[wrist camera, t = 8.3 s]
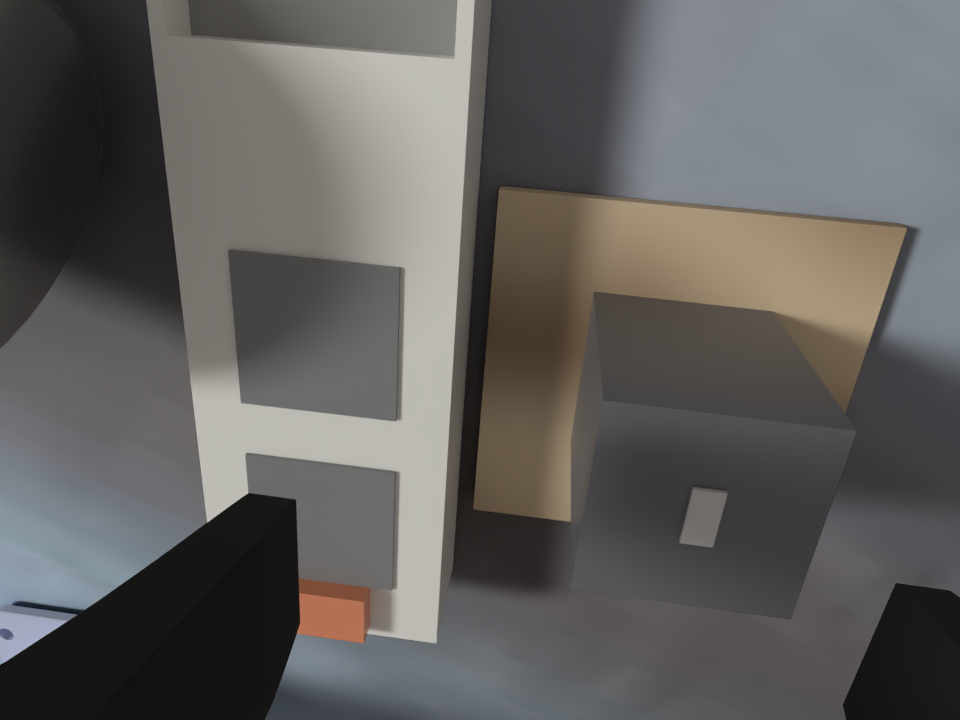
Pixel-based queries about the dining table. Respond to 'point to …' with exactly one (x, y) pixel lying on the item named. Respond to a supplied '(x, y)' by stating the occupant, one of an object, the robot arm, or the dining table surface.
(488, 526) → the dining table surface
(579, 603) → the dining table surface
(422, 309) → the socket strip
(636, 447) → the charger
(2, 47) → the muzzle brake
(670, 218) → the coaster
